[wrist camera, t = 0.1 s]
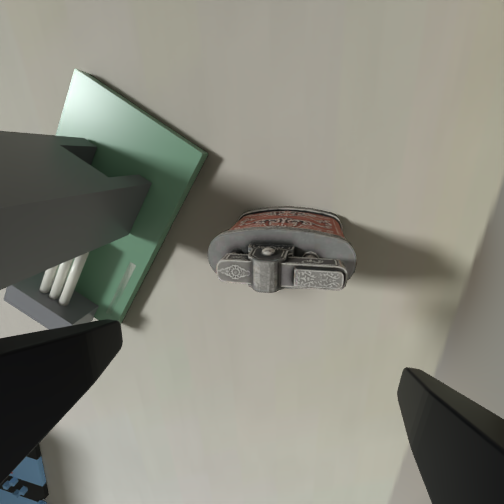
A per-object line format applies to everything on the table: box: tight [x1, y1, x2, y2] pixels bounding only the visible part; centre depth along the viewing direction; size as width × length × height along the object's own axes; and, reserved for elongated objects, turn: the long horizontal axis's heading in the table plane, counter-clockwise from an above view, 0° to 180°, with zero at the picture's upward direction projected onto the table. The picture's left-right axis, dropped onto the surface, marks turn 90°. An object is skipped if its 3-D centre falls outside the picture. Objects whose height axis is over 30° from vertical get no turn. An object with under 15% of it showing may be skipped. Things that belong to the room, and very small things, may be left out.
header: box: [4, 252, 99, 330], centre depth 25 cm, size 8×6×3 cm
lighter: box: [208, 206, 357, 293], centre depth 18 cm, size 8×3×10 cm, turn 91°
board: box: [45, 69, 208, 324], centre depth 24 cm, size 19×11×1 cm, turn 148°
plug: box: [0, 131, 152, 290], centre depth 17 cm, size 5×6×12 cm
